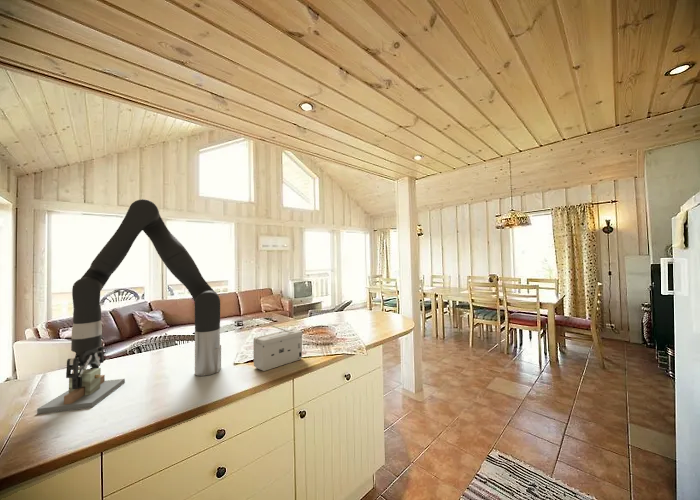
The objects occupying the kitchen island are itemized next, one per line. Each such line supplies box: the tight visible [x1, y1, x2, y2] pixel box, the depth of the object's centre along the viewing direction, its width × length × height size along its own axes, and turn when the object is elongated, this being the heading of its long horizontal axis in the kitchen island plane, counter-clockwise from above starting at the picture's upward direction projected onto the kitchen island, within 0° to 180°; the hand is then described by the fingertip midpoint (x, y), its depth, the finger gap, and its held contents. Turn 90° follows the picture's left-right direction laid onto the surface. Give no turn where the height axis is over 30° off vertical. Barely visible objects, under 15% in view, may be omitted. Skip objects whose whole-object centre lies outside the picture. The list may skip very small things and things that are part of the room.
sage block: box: [68, 367, 102, 395], centre depth 93 cm, size 7×5×7 cm
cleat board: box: [36, 374, 126, 415], centre depth 93 cm, size 14×18×4 cm
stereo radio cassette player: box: [253, 322, 303, 372], centre depth 121 cm, size 21×8×20 cm, turn 135°
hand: (86, 383), depth 93 cm, fingers open, 8 cm apart
